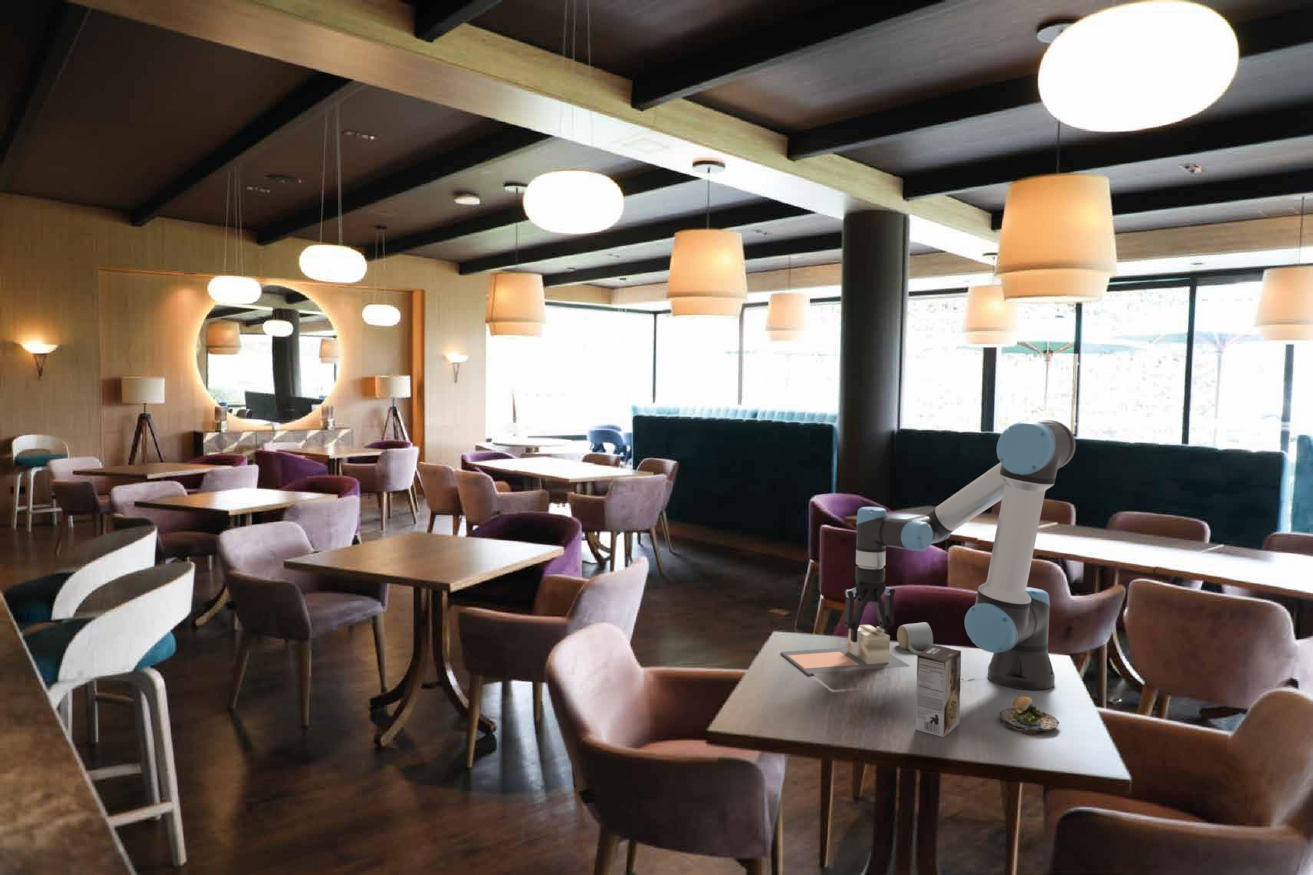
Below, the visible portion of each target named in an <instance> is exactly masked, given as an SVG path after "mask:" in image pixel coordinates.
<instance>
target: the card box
mask: <svg viewBox="0 0 1313 875" xmlns="http://www.w3.org/2000/svg"><path fill="white" fill-rule="evenodd" d="M858 629H859V630H861V652H860V655H856V654H855V653H853V642H852V641H851V629H849V628H848V645H847V647H848V652H850V653H851V654H853V655H854V656H856V657H858V658H859V659H861V660H862V661H864V662H865V663H867V664H878V663H889V654H890V647H891V646H890V645H891V644H890V643H891V642H890V640H891V636H890V635H889V634H888V633H887V634H885V633H883V632H882V631H880V630H878V629H877V627H875V626H873V625H871V624H860V625H859V628H858Z"/></svg>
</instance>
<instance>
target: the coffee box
mask: <svg viewBox="0 0 1313 875" xmlns="http://www.w3.org/2000/svg"><path fill="white" fill-rule="evenodd" d="M920 652H921V653H919V654H916V655H917V659H916V660H917V661H916V662H917V663H916V693H915V694H916V696H915V697H916V699H915V730H916V731H919V732H923V733H927V734H930V735H934V736H938V737H940V738H941V737H942V738H945V737H946V736H947V735H949V734H950V733H951V732H952V731H953V730H955V729H956V727H958V726H959V725H960V724H961V723H960V720H961V719H960V716H961V715H960V714H961V710H960V709H961V677H962V676H961V675H962V674H961V671H962V669H961V668H962V666H961V664H962V650H958V649H953V648H950V647H946V646H941V645H936V644H933V645H932V646H930V647H929V648H927V649H926V650H922V651H920Z"/></svg>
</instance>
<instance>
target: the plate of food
mask: <svg viewBox="0 0 1313 875" xmlns="http://www.w3.org/2000/svg"><path fill="white" fill-rule="evenodd" d="M1016 693H1017V694H1019V691H1016ZM1032 701H1033V699H1032V697H1029V696H1019V697H1017V698H1016V699H1015V700H1014V702H1013V704H1012V708H1006V709H1003V710H1001V711H1000V712H999V717H1000V718H999V719H998V721H999V724H1001V725H1002V727H1004V728H1005V729H1007V730H1010V731H1012V732H1015V733H1018V734H1023V735H1028V736H1032V737H1033V736H1035V735H1036V734H1037V732H1047V731H1051V730H1053V729H1055V728H1057V727H1059V725H1060V721H1059V720H1058V719H1057V718H1056V717H1055V716H1052V714H1049V713H1047V712H1046V711H1040V709H1038V708H1037V706H1035V705H1033V704H1032Z"/></svg>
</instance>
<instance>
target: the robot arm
mask: <svg viewBox="0 0 1313 875" xmlns="http://www.w3.org/2000/svg"><path fill="white" fill-rule="evenodd" d="M1075 452H1076V439H1075V436H1074V434H1073V432H1072V431H1071V430H1070V429H1069V426H1066V425H1065V424H1064V423H1062V422H1059V421H1056V420H1053V419H1040V420H1037V419H1036V420H1035V419H1033V420H1032V419H1028V420H1021V421H1019V422H1017V423H1014V424H1011V425H1010V426H1008V427H1006V429H1004V431H1003V432H1002V433H1001V434H1000V436H999V438H998V440H997V444H996V455H997V459H998V460H999V463H997V464H996V465H994V466H993V467H991V468H990V469H988V470H987V471H986V472H985V473H983V474H982V475H980V476H979V477H977V478H976V479H974V480H973V481H971V482H970V483H968V484H967V485H966V486H964V487H963V488H961V489H960V490H959V491H957V492H956V493H954V494H952V495H951V496H950V497H948V498H947V499H946V500H944V501H943V502H942V503H940V504H938V505H937V506H935V507H934V508H932V510H930V511H928V512H927V513H926V514H924V515H919V516H916V517H910V518H897V517H890V516H888V514H887V510H886V508H884V507H880V506H879V507H878V506H862V507H860V508H859V509H857V513H856V514H857V516H856V523H855V525H856V549H855V564H856V566H855V578H854V579H855V584H854V587H853V588H851V589H850V588H849V589H848V588H847V589H844V591H843V592H844V595H845V596H844V597H845V606H844V617H843V626H844V627H845V628H847V629H848V630H849V629H851V641H852V642H853V653H855V654H856V655H860V652H861V630H859V629H858V628H859V625H861V622H862V617H863V615H864V612H865V610H866V607H867V606H868V603H871V602H872V603H873V606H874V609H875V614H876V618H877V621H878V624H879V626H876V629H878V630H880V631H882V632H883V633H885V634H887V635H888V630H889V629H890V627H893V626H894V625H895V607H894V596H895V593H896V590H895V589H894V588H893V587H890V586H886V584H885V581H886V568H885V566H886V551H887V550H886V548H887V547H889V548H897V549H900V550H901V549H902V550H909V551H911V552H915V551H916V552H925V551H927V550H928V549H929V547H931V545H932V544H938V543H941V542H943V541H945V540H947V539H948V538H950V536H951V534H952V533H953V532H954V531H956V530H958V529H959V528H960V527H963V526H964V525H965V524H966V523H968V522H969V521H971V520H972V519H974V518H976V517H978V515H980V514H982V513H983V512H985V511H986V510H987V509H989V508H991V507H992V506H994V505H995V504H997V503H999V502H1000V501H1001V504H1000V507H999V508H1000V509H999V516H998V519H997V525H996V530H995V534H994V541H993V545H992V551H991V556H990V562H989V566H988V572H987V578H986V581H985V582H984V583H982V584H980V585H979V586H978V588H977V593H976V599H975V604H974V605H972V606H971V607H970V608H969V609H968V610H967V612H966V614H965V616H964V628H965V632H966V634H967V636H968V637H969V639H970V640H971V642H972V643H973V644H974V645H975V646H976V647H978V648H979V649H981V650H982V651H985V652H988V653H991V654H992V655H991V656H992V657H991V659H990V662H989V664H988V665H987V677H988V679H989V680H991V681H992V682H994V683H996V684H998V685H1001V686H1005V687H1009V688H1014V689H1017V690H1018V689H1021V690H1028V691H1041V690H1047V689H1052V688H1053V687H1054V686H1055V684H1056V683H1055V681H1056V680H1055V679H1056V676H1055V673H1054V669H1053V666H1052V661H1051V659H1050V655H1049V650H1048V648H1049V631H1050V629H1049V628H1050V627H1049V625H1050V624H1049V623H1050V607H1051V603H1050V595H1049V592H1047V591H1045V590H1044V589H1040V588H1036V587H1035V588H1034V587H1030V586H1029V587H1028V581H1029V576H1030V572H1031V566H1032V560H1033V556H1034V550H1035V546H1036V540H1037V535H1038V530H1039V524H1040V521H1041V514H1042V509H1043V505H1044V500H1045V494H1046V491H1047V490H1049V489H1050V488H1051V487H1053V486H1055V483H1056V478H1057V473H1058V470H1059V469H1060V468H1063V467H1064V466H1065V465H1067V464H1068V463H1069V462H1070V461H1071V459H1073V456H1074V454H1075ZM883 594H884V606H883V598H882V595H883ZM856 595H857V599H856V605H855V597H856Z"/></svg>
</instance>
